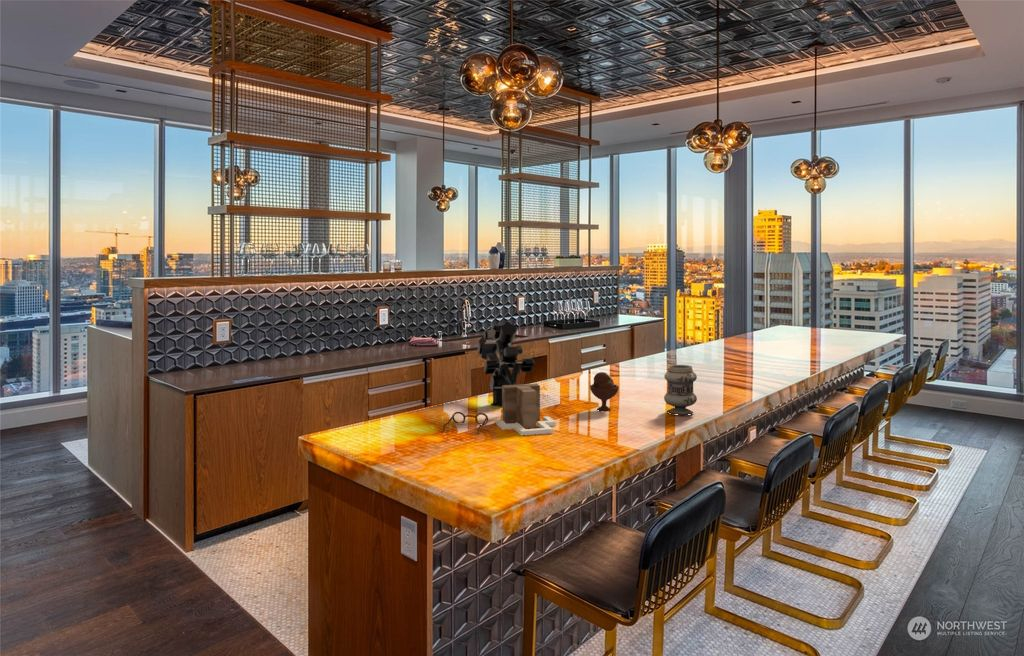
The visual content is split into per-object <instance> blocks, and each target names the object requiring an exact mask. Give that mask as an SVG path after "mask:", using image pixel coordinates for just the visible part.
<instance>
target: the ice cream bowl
mask: <svg viewBox="0 0 1024 656" xmlns="http://www.w3.org/2000/svg"><path fill="white" fill-rule="evenodd" d="M589 388H590V391H591V393H592V395H593V396H595V397H596V398H597V399H598V400H601V406H599V407H597V408H596V410H599V411H598V412H601V411H609V412H611V411H612V408H610V407H608V405H607V402H608V400H610V399H612V398H614V397H615V396H616V395H617V393H618V391H619V388H620V386H619V385H617V384H614V379H613V378H612V377H611V376H610V375H609V374H608V373H607V372H603V371H600V372H597V373H596V374H595V375H594V377H593V384H590V385H589ZM610 410H611V411H610Z"/></svg>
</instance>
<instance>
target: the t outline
mask: <svg viewBox="0 0 1024 656" xmlns="http://www.w3.org/2000/svg"><path fill="white" fill-rule="evenodd" d="M495 423H496V425H497V427H499V428H500V429H501V431H505V430H504V429H508V430H514V431H516V433H518V434H519V435H520V436H523V435H525V436H534V435H535V434H536V435H546V434H548V435H549V434H553V431H554V430H553V428H552V427H555V426H557V421H556V420H554V419H553V418H552V417H550V416H549V415H548V416H545V415H544V416H542V420H540V421H536V428H530V429H525V428H523V427H522V426H521V425H520V424H519V423H505V422H504V421H503V420H502V419H496V420H495ZM538 426H539V427H540V428H539V427H538ZM537 427H538V428H537ZM536 435H535V436H536ZM523 437H524V436H523Z"/></svg>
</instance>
